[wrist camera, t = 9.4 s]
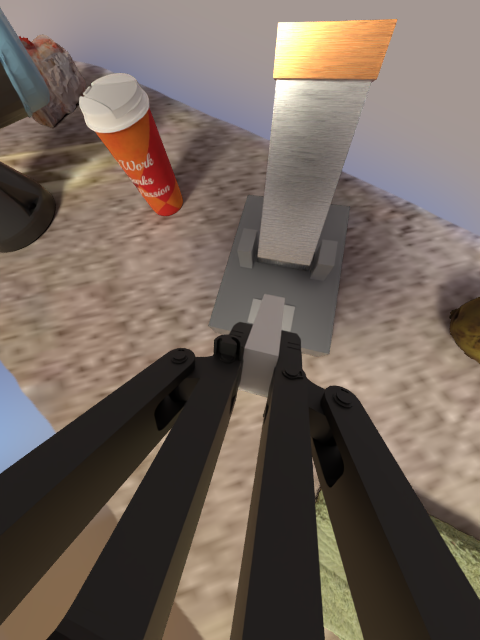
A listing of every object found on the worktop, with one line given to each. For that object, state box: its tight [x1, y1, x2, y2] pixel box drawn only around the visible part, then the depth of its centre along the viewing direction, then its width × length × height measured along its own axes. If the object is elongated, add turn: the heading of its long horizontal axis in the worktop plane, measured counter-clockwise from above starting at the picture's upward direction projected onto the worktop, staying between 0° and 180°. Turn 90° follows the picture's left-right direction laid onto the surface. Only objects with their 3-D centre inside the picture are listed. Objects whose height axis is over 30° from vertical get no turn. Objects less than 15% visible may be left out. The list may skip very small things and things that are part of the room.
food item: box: [19, 35, 87, 128], centre depth 40 cm, size 14×8×10 cm, turn 152°
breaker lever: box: [256, 19, 397, 271], centre depth 18 cm, size 3×6×16 cm, turn 76°
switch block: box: [208, 195, 350, 357], centre depth 24 cm, size 20×14×7 cm
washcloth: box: [315, 489, 480, 640], centre depth 17 cm, size 13×18×3 cm
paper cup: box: [79, 73, 183, 216], centre depth 27 cm, size 8×8×14 cm
